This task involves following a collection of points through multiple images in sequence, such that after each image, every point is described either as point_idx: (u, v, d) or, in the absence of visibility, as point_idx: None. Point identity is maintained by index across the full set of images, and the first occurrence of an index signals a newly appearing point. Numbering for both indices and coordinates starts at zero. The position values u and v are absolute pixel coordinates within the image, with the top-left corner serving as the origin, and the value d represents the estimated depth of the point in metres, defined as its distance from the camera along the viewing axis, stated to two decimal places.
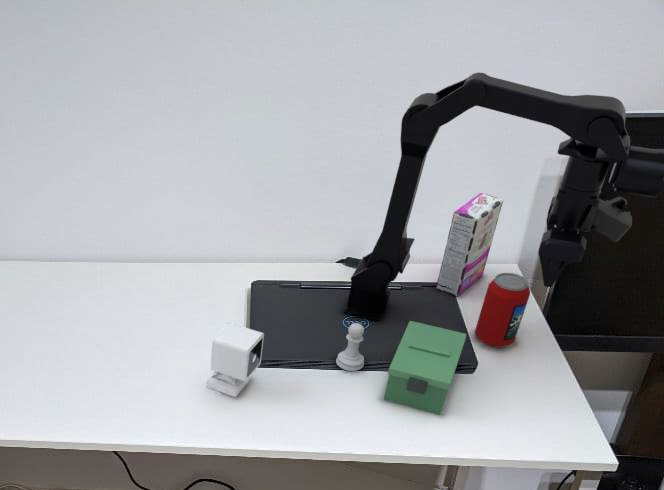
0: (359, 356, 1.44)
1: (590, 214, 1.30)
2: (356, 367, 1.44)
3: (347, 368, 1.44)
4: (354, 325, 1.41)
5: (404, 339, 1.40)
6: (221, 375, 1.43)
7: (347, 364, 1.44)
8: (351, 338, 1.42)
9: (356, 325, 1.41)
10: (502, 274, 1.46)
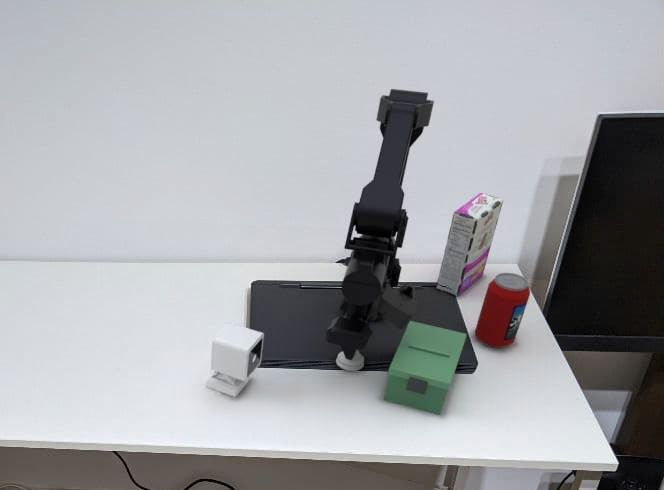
0: (359, 356, 1.44)
1: (375, 302, 1.34)
2: (356, 367, 1.44)
3: (347, 368, 1.44)
4: None
5: (404, 339, 1.40)
6: (221, 375, 1.43)
7: (347, 364, 1.44)
8: None
9: None
10: (502, 274, 1.46)
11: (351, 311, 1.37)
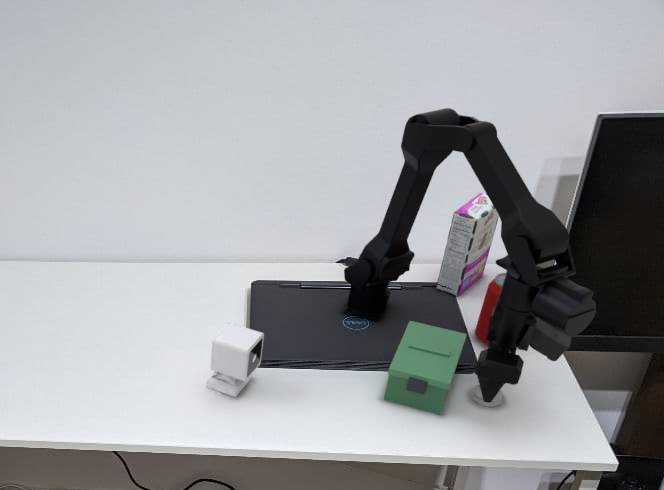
0: None
1: (528, 333, 1.26)
2: (495, 403, 1.36)
3: (485, 404, 1.36)
4: None
5: (404, 339, 1.40)
6: (221, 375, 1.43)
7: None
8: None
9: None
10: (502, 274, 1.46)
11: (499, 342, 1.29)
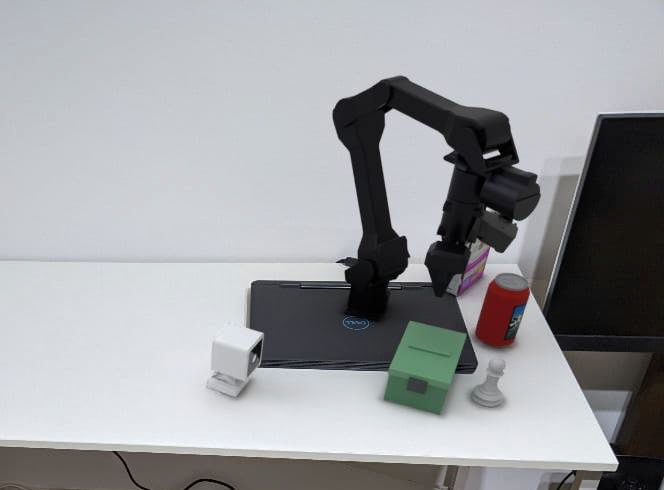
0: (498, 391, 1.36)
1: (475, 225, 1.31)
2: (495, 403, 1.36)
3: (485, 404, 1.36)
4: (496, 359, 1.33)
5: (404, 339, 1.40)
6: (221, 375, 1.43)
7: (485, 399, 1.36)
8: (491, 372, 1.34)
9: (498, 359, 1.33)
10: (502, 274, 1.46)
11: (449, 236, 1.34)
